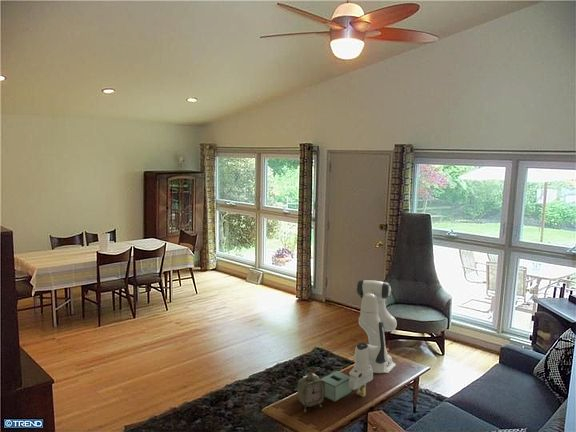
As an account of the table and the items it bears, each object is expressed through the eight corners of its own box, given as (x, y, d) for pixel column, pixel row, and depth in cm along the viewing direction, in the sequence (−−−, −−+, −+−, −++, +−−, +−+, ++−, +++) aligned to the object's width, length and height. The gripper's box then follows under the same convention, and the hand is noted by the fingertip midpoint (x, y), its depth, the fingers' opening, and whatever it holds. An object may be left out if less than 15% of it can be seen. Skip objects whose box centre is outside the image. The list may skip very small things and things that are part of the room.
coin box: (336, 385, 291) (336, 370, 290) (351, 392, 283) (351, 377, 282) (319, 394, 280) (320, 379, 279) (334, 401, 272) (334, 386, 271)
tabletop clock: (303, 414, 258) (303, 372, 255) (295, 407, 266) (295, 366, 263) (324, 407, 265) (325, 367, 262) (316, 400, 273) (316, 361, 270)
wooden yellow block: (359, 392, 282) (359, 383, 282) (365, 395, 279) (365, 386, 278) (356, 393, 281) (356, 384, 280) (363, 397, 277) (363, 387, 276)
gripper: (367, 362, 287) (367, 383, 289) (347, 373, 273) (346, 395, 275) (375, 366, 283) (375, 387, 284) (355, 377, 269) (355, 399, 270)
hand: (361, 391), depth 280 cm, fingers closed on wooden yellow block, 2 cm apart
